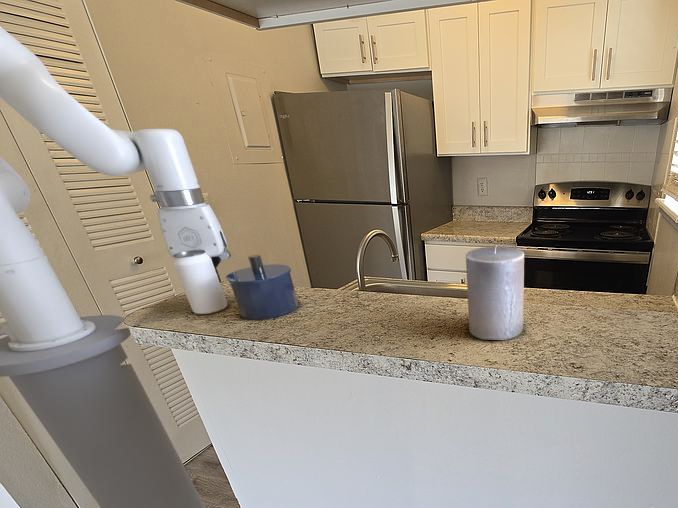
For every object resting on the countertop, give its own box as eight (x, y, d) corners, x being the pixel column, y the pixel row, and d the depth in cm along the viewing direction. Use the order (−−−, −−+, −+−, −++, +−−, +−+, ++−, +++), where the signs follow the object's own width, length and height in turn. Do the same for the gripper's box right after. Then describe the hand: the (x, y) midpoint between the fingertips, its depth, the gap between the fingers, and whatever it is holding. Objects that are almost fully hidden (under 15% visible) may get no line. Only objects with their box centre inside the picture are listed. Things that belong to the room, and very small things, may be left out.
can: (231, 302, 90) (212, 248, 84) (223, 312, 84) (202, 255, 79) (198, 306, 88) (177, 251, 83) (189, 316, 83) (165, 258, 77)
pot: (234, 322, 80) (221, 285, 76) (249, 303, 89) (238, 270, 85) (293, 316, 82) (283, 280, 78) (301, 297, 91) (293, 265, 87)
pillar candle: (499, 314, 78) (499, 236, 71) (534, 331, 71) (537, 245, 64) (458, 328, 74) (453, 245, 66) (491, 347, 67) (489, 256, 59)
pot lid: (219, 289, 76) (211, 266, 74) (237, 272, 86) (230, 251, 84) (285, 283, 78) (279, 260, 76) (296, 267, 88) (290, 246, 86)
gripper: (130, 204, 77) (169, 296, 85) (215, 199, 79) (245, 289, 88) (149, 199, 83) (184, 285, 92) (228, 194, 85) (254, 279, 94)
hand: (214, 287), depth 90 cm, fingers closed
